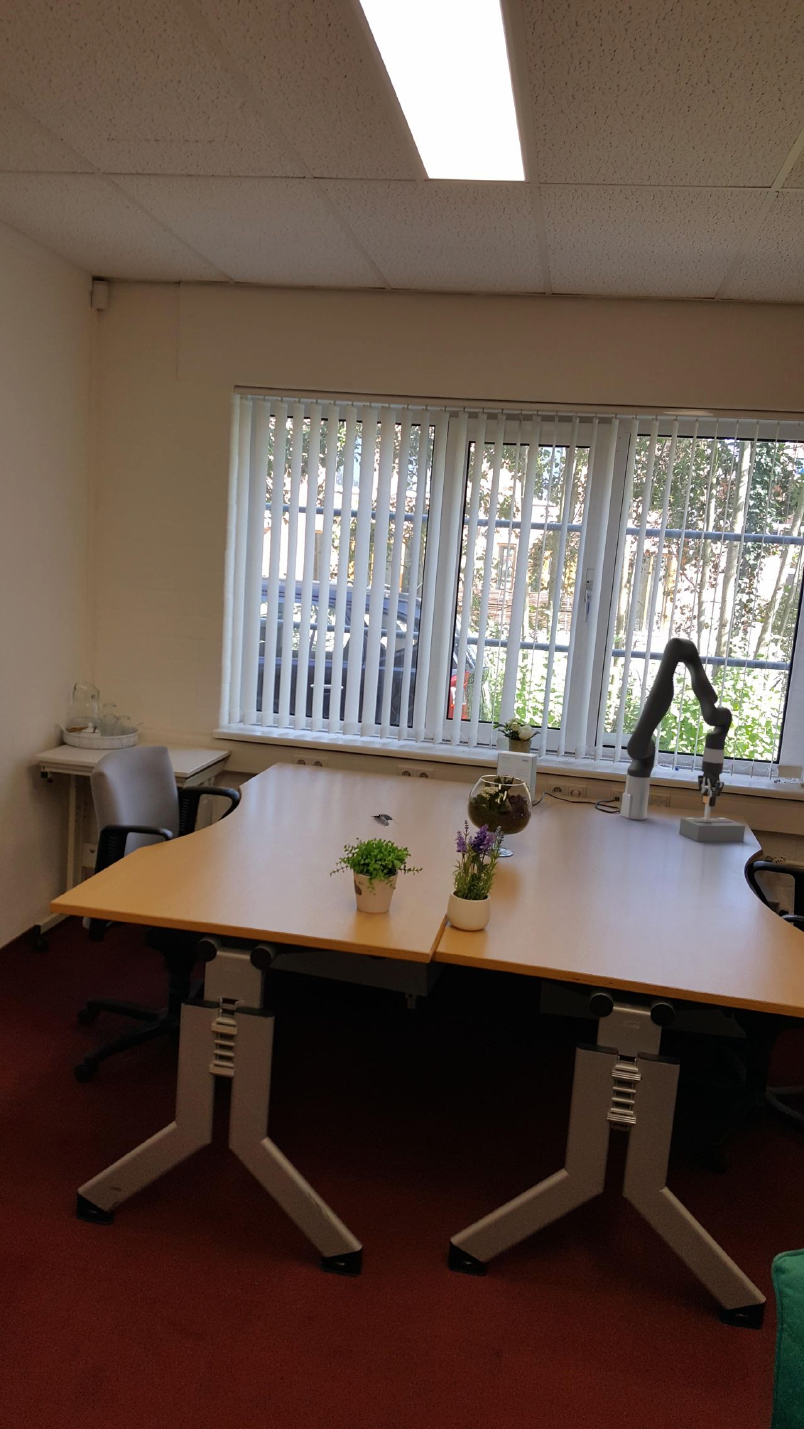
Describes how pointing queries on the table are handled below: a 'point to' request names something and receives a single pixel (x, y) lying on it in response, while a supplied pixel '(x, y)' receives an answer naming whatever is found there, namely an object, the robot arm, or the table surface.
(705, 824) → the switch box
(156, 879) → the table surface
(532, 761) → the hard drive box
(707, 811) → the breaker handle
